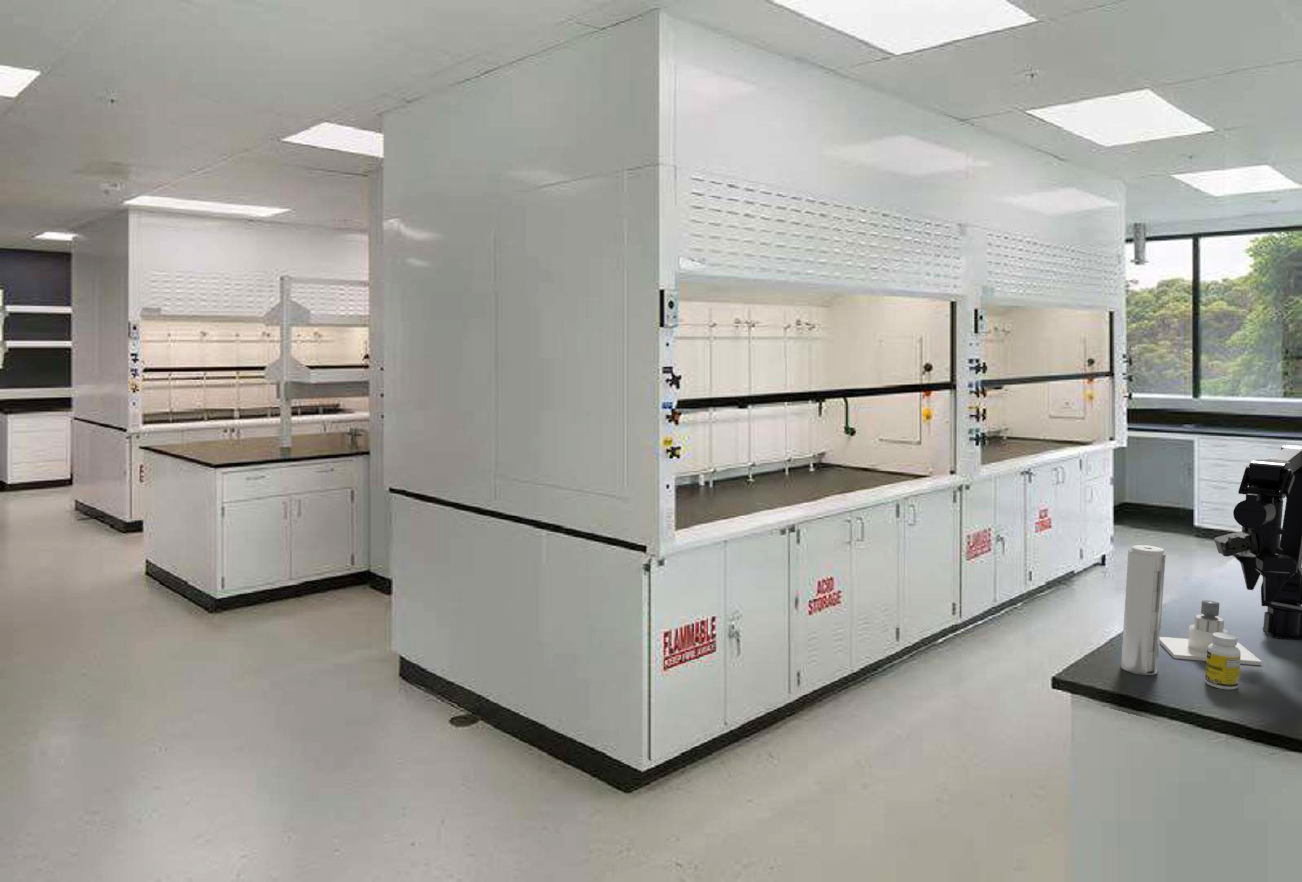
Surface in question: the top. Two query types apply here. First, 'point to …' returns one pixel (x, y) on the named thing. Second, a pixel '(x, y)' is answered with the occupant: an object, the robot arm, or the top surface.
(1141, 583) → the white tall cylinder
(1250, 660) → the tray
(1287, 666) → the top surface
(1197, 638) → the white tiered cylinder
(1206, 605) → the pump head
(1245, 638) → the top surface
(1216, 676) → the supplement bottle
